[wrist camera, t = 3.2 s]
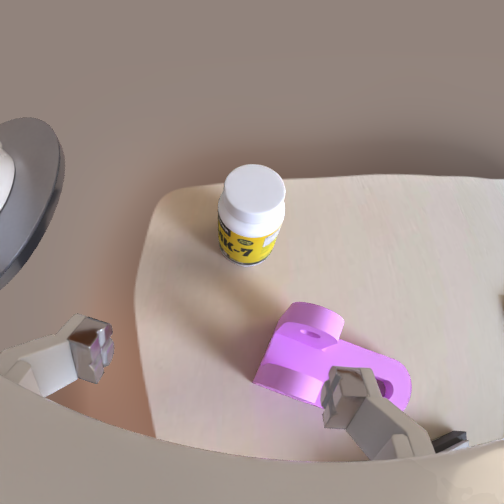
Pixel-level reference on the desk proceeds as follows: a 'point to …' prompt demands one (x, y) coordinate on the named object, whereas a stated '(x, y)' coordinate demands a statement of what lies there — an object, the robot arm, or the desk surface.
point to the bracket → (321, 357)
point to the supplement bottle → (250, 214)
